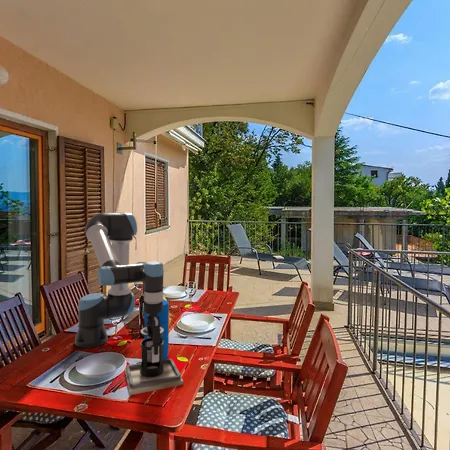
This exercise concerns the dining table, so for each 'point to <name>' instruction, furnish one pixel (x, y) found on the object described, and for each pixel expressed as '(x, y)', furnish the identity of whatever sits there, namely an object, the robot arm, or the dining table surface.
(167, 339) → the thermos
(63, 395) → the dining table surface
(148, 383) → the board
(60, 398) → the dining table surface
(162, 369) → the french press
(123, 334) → the dining table surface
